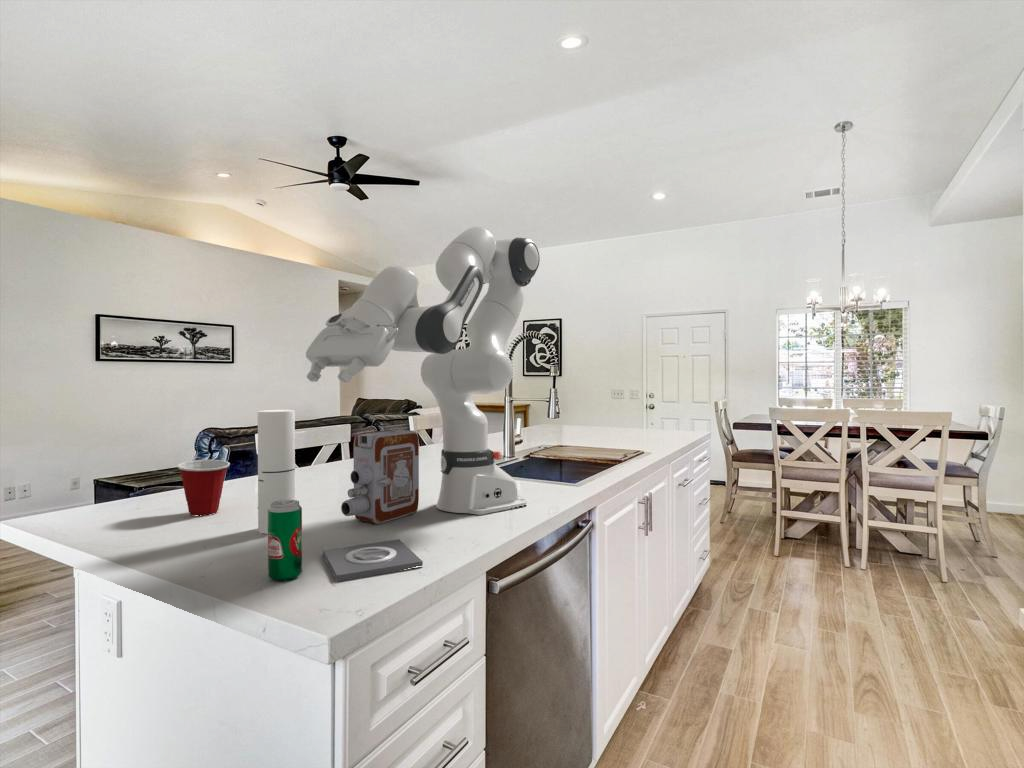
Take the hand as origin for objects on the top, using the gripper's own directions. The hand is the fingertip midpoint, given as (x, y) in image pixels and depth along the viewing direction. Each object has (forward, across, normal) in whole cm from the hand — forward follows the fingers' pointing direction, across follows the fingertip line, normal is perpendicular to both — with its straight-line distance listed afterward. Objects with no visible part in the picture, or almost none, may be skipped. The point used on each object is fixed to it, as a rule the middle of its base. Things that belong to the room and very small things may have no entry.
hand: (326, 379), depth 100 cm
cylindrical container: (+23, +20, -22) cm, 37 cm away
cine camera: (+11, +8, -36) cm, 39 cm away
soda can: (+32, -7, -11) cm, 35 cm away
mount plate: (+24, -12, -21) cm, 34 cm away
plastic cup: (+25, +46, -21) cm, 56 cm away
